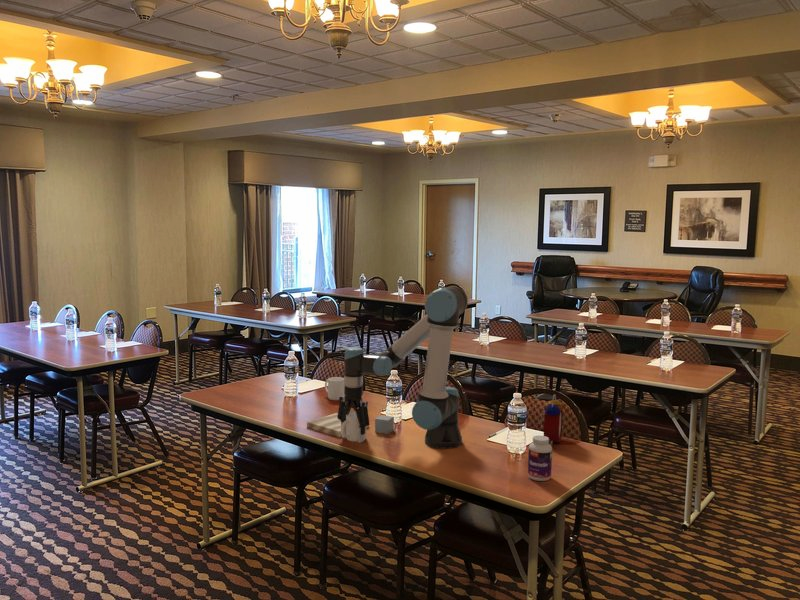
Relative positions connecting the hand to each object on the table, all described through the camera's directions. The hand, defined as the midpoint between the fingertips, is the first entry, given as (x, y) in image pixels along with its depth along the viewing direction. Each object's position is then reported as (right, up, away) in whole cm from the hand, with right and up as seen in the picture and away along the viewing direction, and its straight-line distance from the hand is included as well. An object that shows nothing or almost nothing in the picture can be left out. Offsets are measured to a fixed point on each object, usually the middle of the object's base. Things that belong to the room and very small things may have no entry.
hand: (352, 439), depth 261 cm
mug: (0, 0, 0) cm, 1 cm away
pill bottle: (+68, -5, -39) cm, 79 cm away
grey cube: (+13, +1, +12) cm, 17 cm away
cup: (-15, +7, +65) cm, 67 cm away
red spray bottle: (+81, -1, 0) cm, 81 cm away
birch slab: (-8, +1, +17) cm, 19 cm away
